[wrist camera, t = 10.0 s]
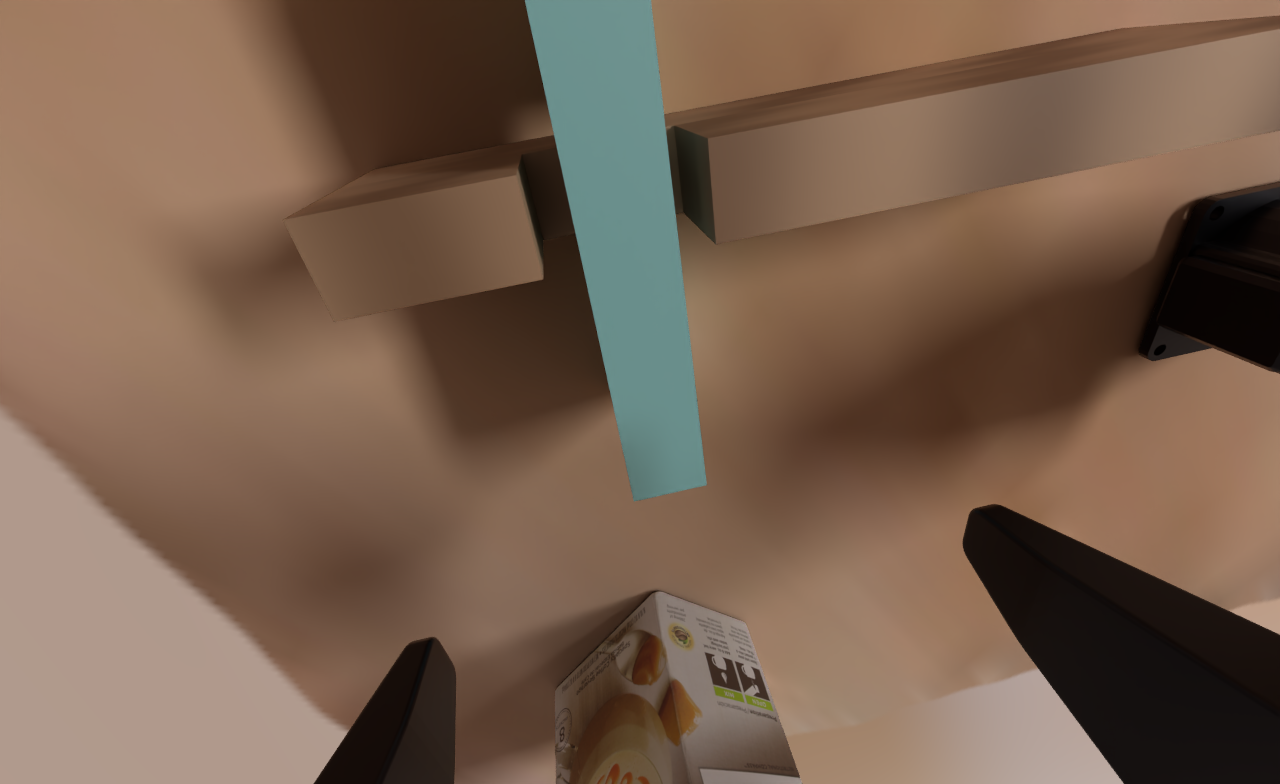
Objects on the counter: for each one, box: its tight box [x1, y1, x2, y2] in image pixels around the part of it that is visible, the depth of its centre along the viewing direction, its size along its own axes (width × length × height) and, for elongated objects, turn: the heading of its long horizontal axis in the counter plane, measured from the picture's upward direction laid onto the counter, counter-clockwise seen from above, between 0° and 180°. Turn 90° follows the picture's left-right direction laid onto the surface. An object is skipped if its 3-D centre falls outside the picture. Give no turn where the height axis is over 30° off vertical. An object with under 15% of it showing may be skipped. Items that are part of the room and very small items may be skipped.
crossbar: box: [525, 0, 707, 501], centre depth 13 cm, size 15×2×6 cm, turn 9°
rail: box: [283, 16, 1280, 322], centre depth 13 cm, size 22×2×6 cm, turn 99°
